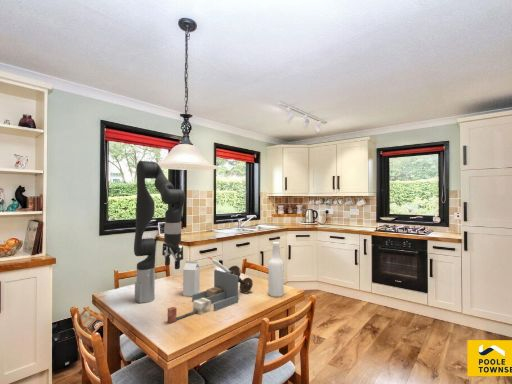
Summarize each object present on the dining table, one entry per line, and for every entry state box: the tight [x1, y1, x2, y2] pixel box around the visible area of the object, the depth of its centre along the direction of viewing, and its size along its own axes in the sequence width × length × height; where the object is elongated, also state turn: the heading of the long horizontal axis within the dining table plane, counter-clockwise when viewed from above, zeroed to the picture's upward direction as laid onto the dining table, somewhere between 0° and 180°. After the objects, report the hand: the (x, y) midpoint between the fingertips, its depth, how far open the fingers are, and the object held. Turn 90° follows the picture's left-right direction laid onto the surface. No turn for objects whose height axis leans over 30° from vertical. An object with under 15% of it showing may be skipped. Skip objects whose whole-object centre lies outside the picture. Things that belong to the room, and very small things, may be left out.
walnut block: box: [206, 286, 222, 298], centre depth 155 cm, size 6×6×5 cm
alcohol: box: [267, 241, 285, 298], centre depth 161 cm, size 9×9×30 cm
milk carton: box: [182, 260, 201, 297], centre depth 161 cm, size 7×7×19 cm
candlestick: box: [207, 256, 254, 294], centre depth 156 cm, size 11×11×35 cm
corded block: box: [167, 298, 212, 324], centre depth 132 cm, size 21×6×6 cm, turn 138°
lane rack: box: [191, 269, 239, 312], centre depth 149 cm, size 16×19×14 cm
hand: (172, 267), depth 129 cm, fingers open, 8 cm apart
